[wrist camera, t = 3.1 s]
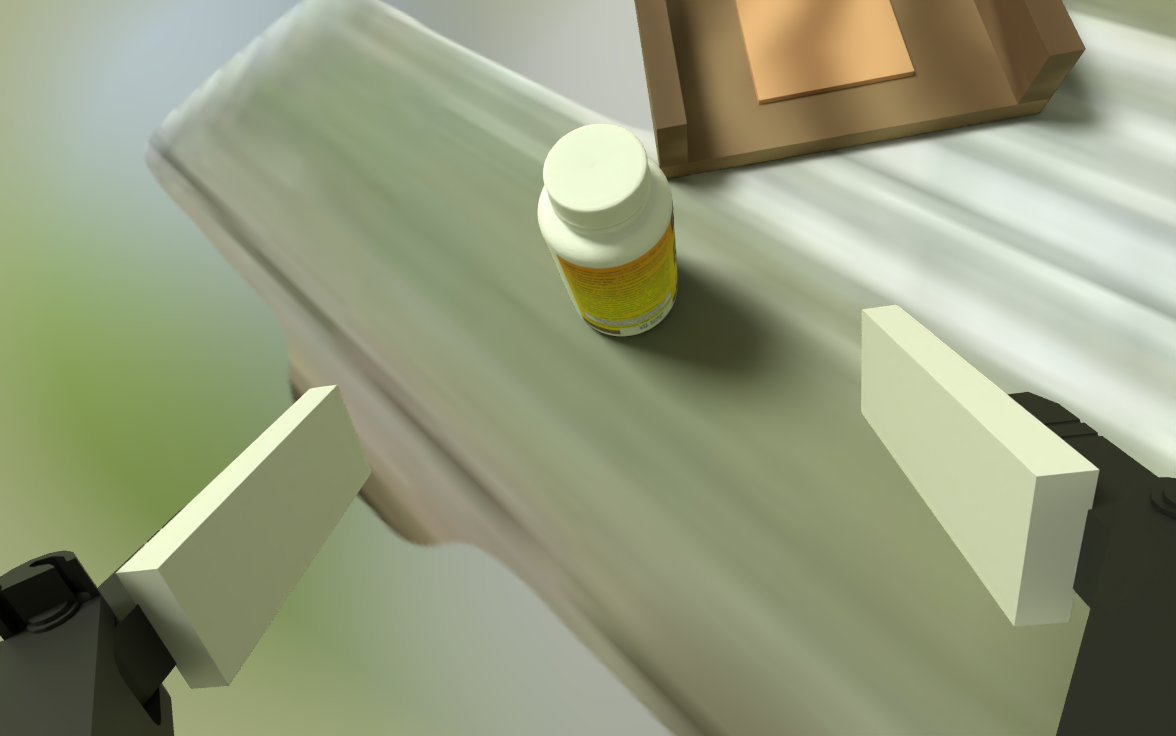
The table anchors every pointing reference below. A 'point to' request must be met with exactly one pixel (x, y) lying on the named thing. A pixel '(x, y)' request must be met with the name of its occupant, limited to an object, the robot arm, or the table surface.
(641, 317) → the supplement bottle
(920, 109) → the wooden tray with rails
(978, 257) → the table surface
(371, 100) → the table surface
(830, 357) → the table surface
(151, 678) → the robot arm
